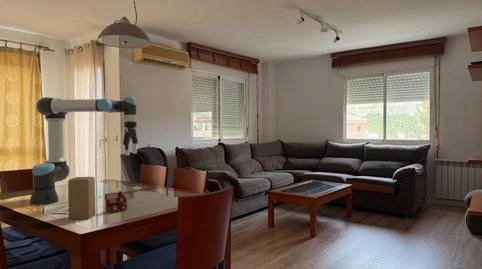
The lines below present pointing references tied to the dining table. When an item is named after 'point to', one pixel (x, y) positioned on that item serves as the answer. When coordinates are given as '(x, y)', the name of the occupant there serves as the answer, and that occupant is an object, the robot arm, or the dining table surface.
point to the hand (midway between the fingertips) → (130, 154)
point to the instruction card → (63, 210)
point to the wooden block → (81, 197)
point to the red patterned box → (115, 202)
